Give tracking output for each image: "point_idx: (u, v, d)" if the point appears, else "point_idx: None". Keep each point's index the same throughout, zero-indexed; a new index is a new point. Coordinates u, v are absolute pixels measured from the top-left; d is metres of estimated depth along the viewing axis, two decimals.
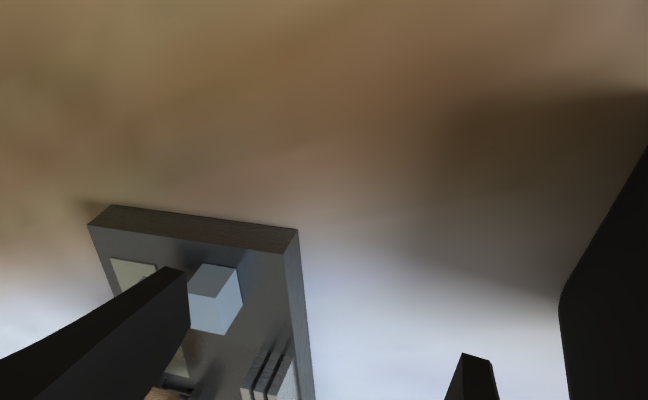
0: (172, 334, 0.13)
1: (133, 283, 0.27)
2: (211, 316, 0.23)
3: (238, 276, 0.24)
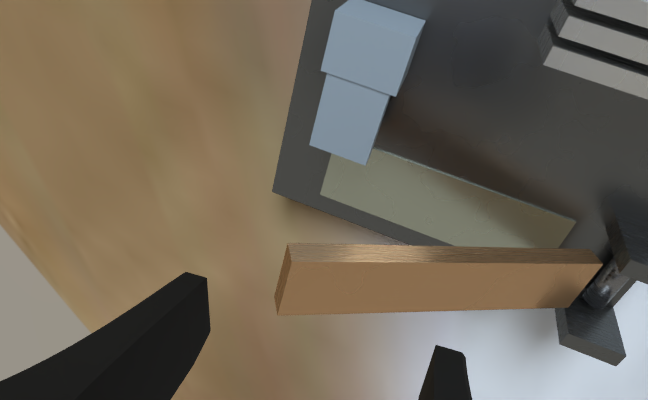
0: (193, 341, 0.12)
1: (363, 188, 0.19)
2: (372, 40, 0.14)
3: (369, 0, 0.15)
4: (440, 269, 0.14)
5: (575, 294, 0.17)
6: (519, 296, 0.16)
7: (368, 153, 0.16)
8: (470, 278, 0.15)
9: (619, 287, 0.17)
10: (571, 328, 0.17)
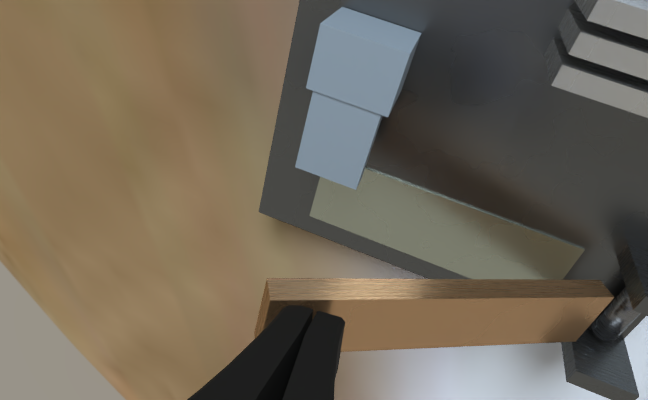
0: None
1: (356, 209, 0.18)
2: (362, 56, 0.12)
3: (360, 10, 0.14)
4: (435, 305, 0.13)
5: (583, 328, 0.15)
6: (522, 331, 0.15)
7: (359, 177, 0.14)
8: (468, 314, 0.14)
9: (631, 320, 0.16)
10: (579, 364, 0.16)
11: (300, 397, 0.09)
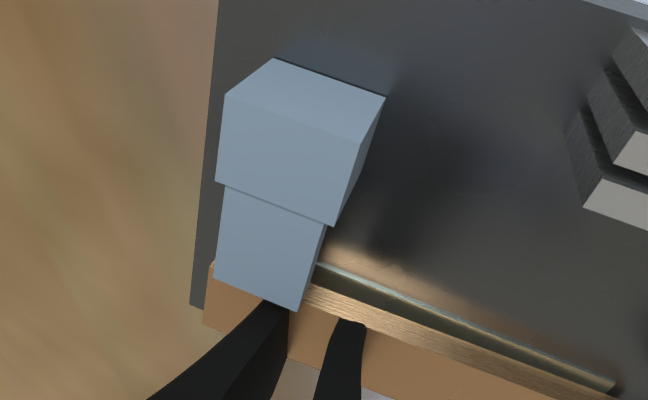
0: (275, 367, 0.12)
1: None
2: (290, 143, 0.08)
3: (298, 63, 0.10)
4: (382, 341, 0.12)
5: None
6: None
7: (299, 297, 0.10)
8: (425, 369, 0.12)
9: None
10: None
11: None
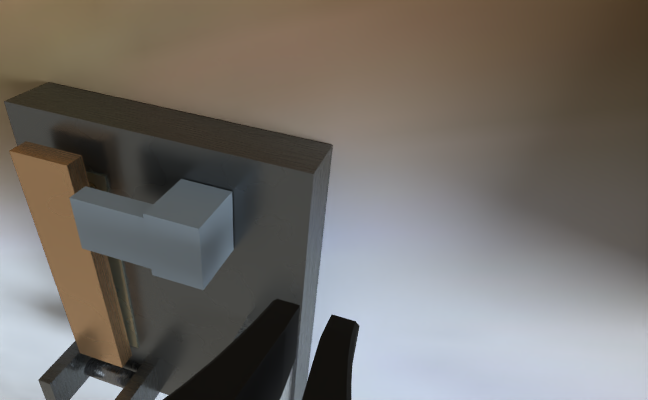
0: (284, 370, 0.12)
1: None
2: (187, 259, 0.14)
3: (234, 204, 0.16)
4: (89, 268, 0.18)
5: (92, 355, 0.22)
6: (80, 320, 0.20)
7: (94, 250, 0.16)
8: (87, 287, 0.19)
9: (106, 380, 0.22)
10: (56, 380, 0.21)
11: None
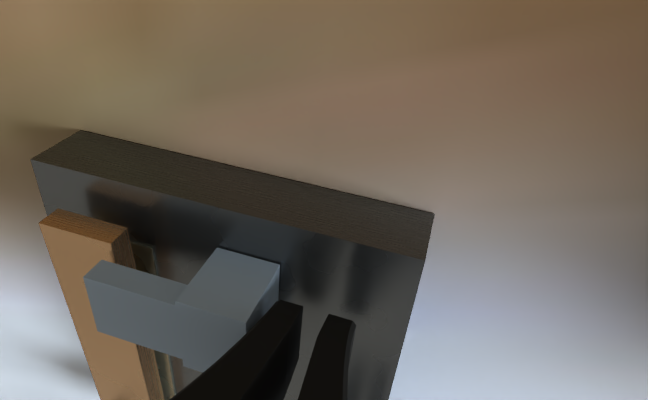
0: (287, 371, 0.12)
1: None
2: None
3: (314, 287, 0.13)
4: (130, 351, 0.15)
5: None
6: None
7: (112, 334, 0.13)
8: (125, 370, 0.16)
9: None
10: None
11: None
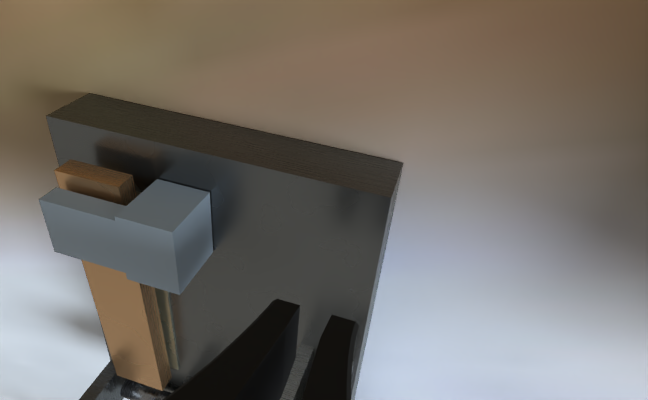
0: (284, 370, 0.12)
1: None
2: (162, 263, 0.14)
3: (297, 227, 0.15)
4: (134, 291, 0.17)
5: (130, 378, 0.21)
6: (120, 343, 0.19)
7: (67, 254, 0.15)
8: (130, 311, 0.18)
9: None
10: None
11: None
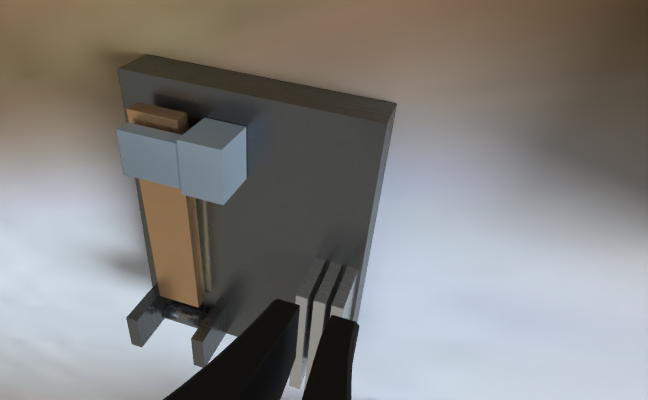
0: (284, 370, 0.12)
1: None
2: (211, 177, 0.18)
3: (314, 153, 0.19)
4: (182, 213, 0.21)
5: (171, 297, 0.25)
6: (165, 264, 0.23)
7: (133, 176, 0.19)
8: (177, 232, 0.22)
9: (181, 321, 0.26)
10: (141, 318, 0.24)
11: None
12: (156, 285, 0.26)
